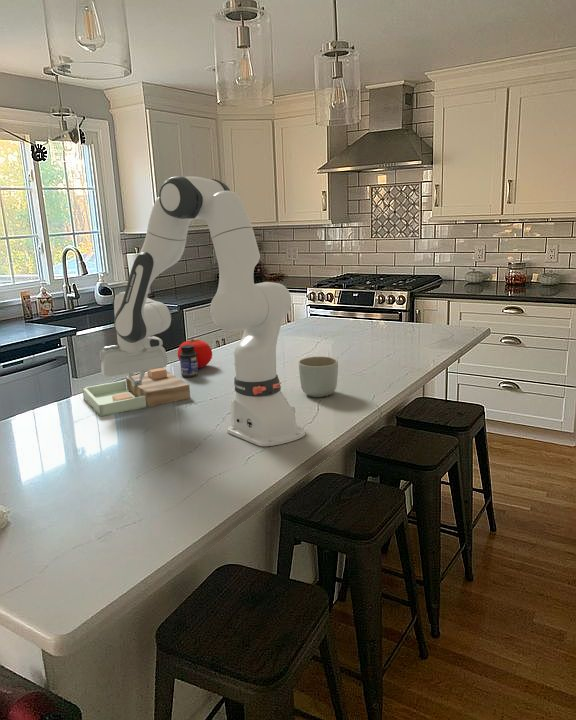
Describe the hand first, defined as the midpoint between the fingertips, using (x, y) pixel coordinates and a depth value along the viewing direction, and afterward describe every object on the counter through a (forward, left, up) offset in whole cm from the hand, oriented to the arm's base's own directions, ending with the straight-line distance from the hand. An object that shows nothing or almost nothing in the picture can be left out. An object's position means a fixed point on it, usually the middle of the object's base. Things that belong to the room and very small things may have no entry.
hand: (137, 385), depth 186 cm
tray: (+5, +6, -6) cm, 10 cm away
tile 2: (+10, -10, -1) cm, 14 cm away
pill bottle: (+19, -25, -6) cm, 32 cm away
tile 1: (0, +5, -3) cm, 6 cm away
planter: (-28, -50, -6) cm, 58 cm away
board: (+5, -8, -6) cm, 11 cm away
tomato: (+28, -31, -6) cm, 42 cm away
